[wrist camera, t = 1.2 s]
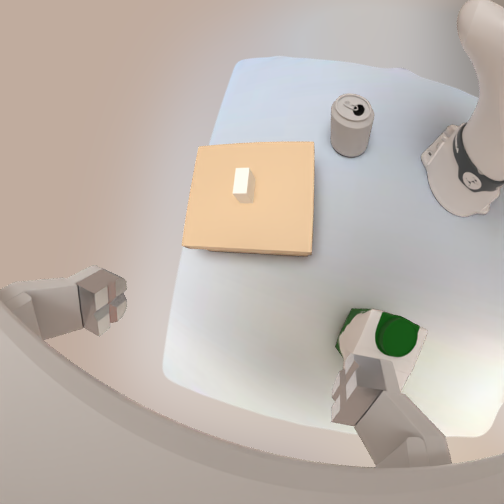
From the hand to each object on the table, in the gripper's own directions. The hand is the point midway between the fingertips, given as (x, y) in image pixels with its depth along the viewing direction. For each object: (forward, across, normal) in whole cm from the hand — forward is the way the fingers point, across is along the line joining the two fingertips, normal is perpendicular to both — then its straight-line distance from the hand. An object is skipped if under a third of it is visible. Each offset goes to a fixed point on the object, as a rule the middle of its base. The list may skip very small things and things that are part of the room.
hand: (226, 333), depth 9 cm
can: (+49, -6, -12) cm, 51 cm away
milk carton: (+32, -17, +18) cm, 40 cm away
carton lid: (+36, +7, +1) cm, 37 cm away
